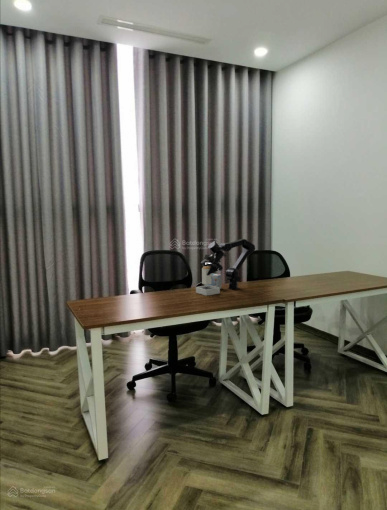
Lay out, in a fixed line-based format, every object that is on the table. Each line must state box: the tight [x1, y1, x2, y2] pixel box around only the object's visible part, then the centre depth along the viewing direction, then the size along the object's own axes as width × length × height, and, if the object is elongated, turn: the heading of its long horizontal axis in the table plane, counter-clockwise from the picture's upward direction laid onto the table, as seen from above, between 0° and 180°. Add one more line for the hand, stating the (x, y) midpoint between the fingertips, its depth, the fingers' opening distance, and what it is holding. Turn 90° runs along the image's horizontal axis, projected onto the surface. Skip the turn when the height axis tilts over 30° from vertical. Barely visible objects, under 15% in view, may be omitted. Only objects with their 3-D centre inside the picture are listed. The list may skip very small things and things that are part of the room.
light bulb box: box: [204, 273, 222, 290], centre depth 273 cm, size 11×7×11 cm, turn 62°
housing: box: [195, 285, 221, 297], centre depth 258 cm, size 12×12×4 cm
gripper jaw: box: [201, 266, 211, 286], centre depth 256 cm, size 5×5×12 cm
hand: (205, 274), depth 255 cm, fingers closed on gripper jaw, 5 cm apart
